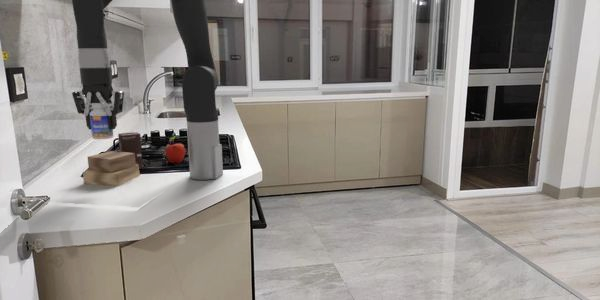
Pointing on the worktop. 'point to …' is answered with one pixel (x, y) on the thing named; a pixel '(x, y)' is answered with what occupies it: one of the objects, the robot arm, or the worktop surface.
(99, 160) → the walnut slab
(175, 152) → the apple
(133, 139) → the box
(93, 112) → the pill bottle
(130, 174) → the oak slab
